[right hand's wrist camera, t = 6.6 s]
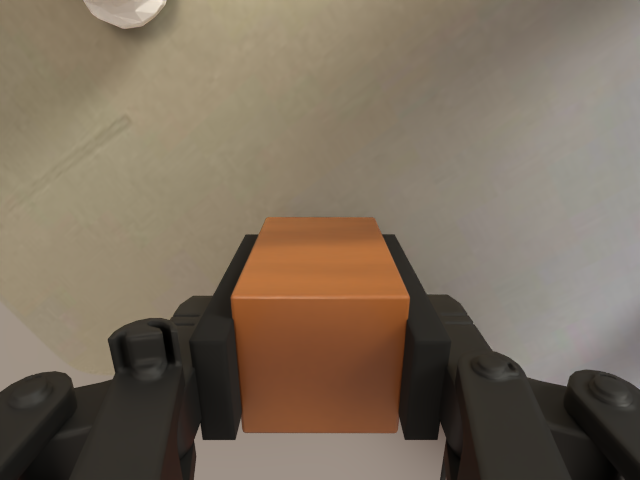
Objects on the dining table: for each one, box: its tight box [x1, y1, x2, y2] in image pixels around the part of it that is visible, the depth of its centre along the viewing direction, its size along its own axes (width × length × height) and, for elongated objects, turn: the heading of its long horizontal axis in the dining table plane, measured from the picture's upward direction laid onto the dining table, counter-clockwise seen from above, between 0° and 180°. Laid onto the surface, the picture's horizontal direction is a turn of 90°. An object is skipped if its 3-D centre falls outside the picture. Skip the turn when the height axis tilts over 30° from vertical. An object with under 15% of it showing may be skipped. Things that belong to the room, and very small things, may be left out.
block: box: [231, 217, 410, 433], centre depth 12 cm, size 4×4×6 cm
